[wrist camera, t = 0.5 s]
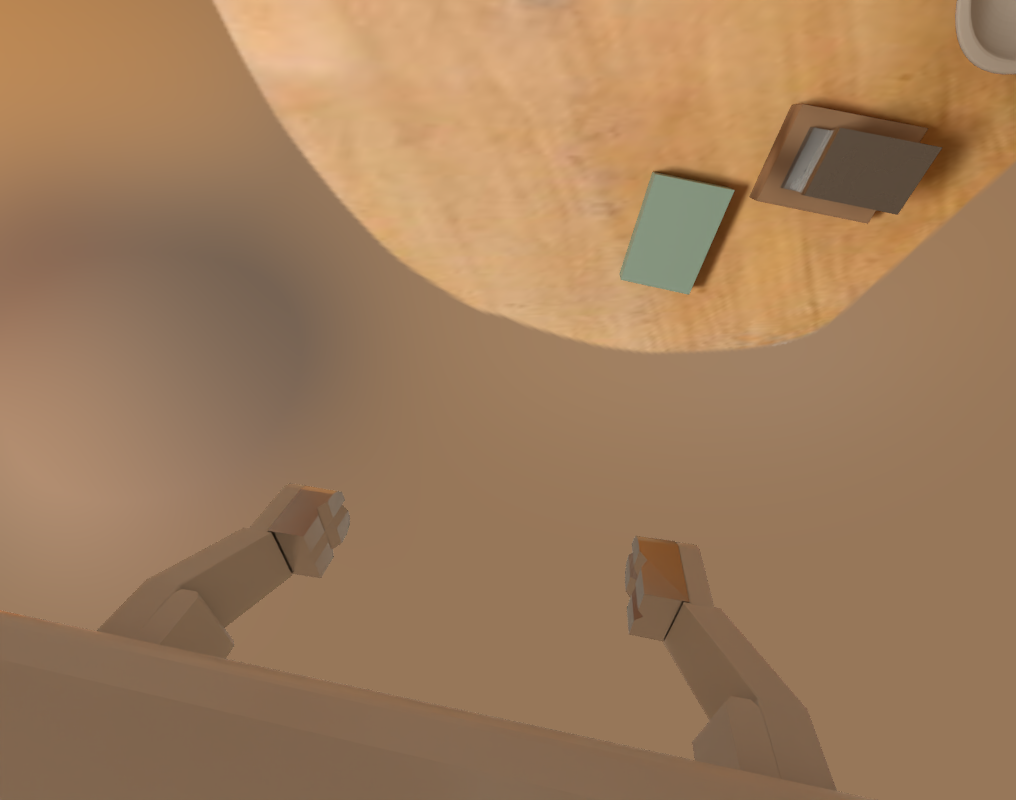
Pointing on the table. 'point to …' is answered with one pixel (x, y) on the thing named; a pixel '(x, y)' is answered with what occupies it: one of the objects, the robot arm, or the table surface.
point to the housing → (859, 168)
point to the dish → (988, 33)
